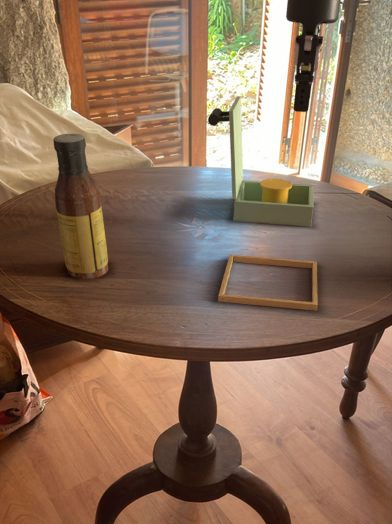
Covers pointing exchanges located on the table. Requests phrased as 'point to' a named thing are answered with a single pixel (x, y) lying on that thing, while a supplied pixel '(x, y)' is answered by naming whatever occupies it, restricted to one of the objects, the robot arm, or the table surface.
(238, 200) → the green storage bin
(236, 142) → the lid
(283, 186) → the cylinder
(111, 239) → the table surface
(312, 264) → the tray
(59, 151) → the sauce bottle
